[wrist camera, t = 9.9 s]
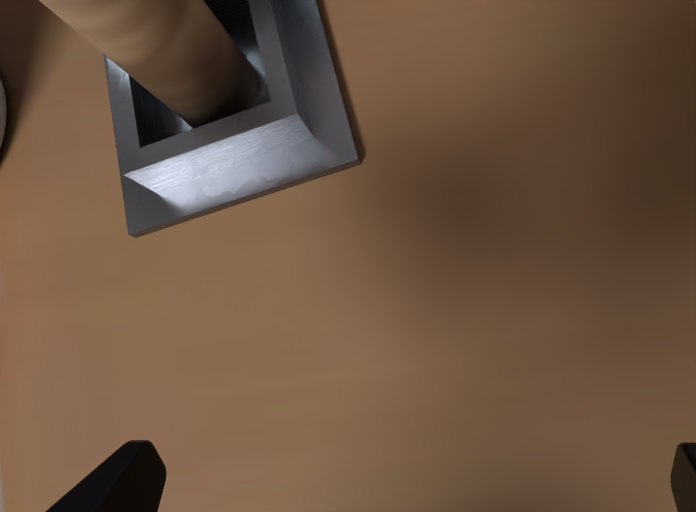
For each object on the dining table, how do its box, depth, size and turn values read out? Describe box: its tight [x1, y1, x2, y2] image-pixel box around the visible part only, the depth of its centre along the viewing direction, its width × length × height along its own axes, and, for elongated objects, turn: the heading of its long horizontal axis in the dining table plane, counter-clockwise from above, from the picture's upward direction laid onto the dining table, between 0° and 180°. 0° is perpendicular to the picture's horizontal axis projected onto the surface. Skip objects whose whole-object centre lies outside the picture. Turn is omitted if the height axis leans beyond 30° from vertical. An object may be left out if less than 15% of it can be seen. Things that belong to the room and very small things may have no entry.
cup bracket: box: [104, 0, 361, 238], centre depth 23 cm, size 12×12×9 cm
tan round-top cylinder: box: [39, 0, 257, 128], centre depth 21 cm, size 5×5×14 cm
